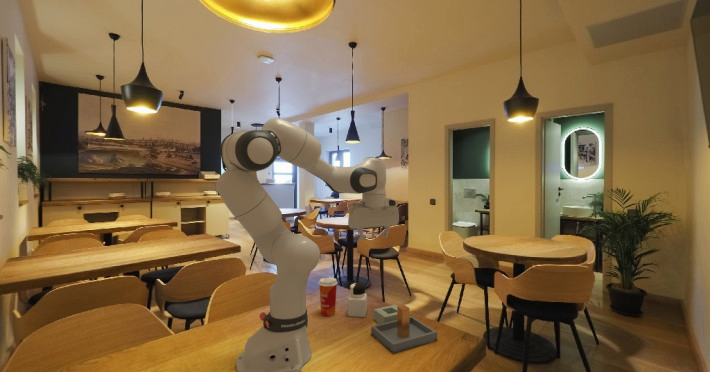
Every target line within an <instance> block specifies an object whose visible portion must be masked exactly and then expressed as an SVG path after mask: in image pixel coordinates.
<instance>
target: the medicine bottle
mask: <svg viewBox="0 0 710 372" xmlns="http://www.w3.org/2000/svg"><path fill="white" fill-rule="evenodd" d="M349 290H350V291H349V296H348V299H347V316H348V317H352V318H353V317H354V318H355V317H359V318H366V316H367V309H368V307H367V306H368V301H367V300H368V299H367V298H368V294H367V293H366V285H365V284H363V283H361V282H355V283H352V284H350V289H349Z"/></svg>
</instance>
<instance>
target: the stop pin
mask: <svg viewBox="0 0 710 372" xmlns="http://www.w3.org/2000/svg"><path fill="white" fill-rule="evenodd" d="M396 306H397V335H399V336H400V337H401V338H405V337H408V336H409V317H410V312H411V311H410V307H409V306H407V305H405V304H402V305H396Z"/></svg>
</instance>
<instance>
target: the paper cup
mask: <svg viewBox="0 0 710 372" xmlns="http://www.w3.org/2000/svg"><path fill="white" fill-rule="evenodd" d="M318 287H319V300H320V312H321V313H320V314H321V316H323V317H329V318H330V317H333V316H334V315H335V314H336V303H337V300H336V299H337V287H338V281H337V278H334V277H330V276H329V277H324V278H323V277H322V278H320V279H319V281H318Z"/></svg>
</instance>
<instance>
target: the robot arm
mask: <svg viewBox="0 0 710 372" xmlns="http://www.w3.org/2000/svg"><path fill="white" fill-rule="evenodd" d="M219 149H220V150H219V153H220V158H221V164H222V168H223V170H224V172H223V173H222V174H220V176H219V178H218V179H217V181H216V182H215V183H216V184H215V187H216V190H217V193H218V194H219V196H220V199H222V201H223V202H224V204H225V206H226V208H227V209H228V211H229V212H230V213H231V214H232V215H233V216H234V218H235V219H236V220H237V222H238V223H239V224H240V225H241V226H242V227H243V228H244V230H245V231H246V232H247V233H248V234H249V236H250V237H251V239H252V240H253V243H255V246H256V247H257V249H258V252H259V254H260V255H261V256H262V257H263V259H264V260H265V261H267V262H268V263H270V264H272V265H275V266H276V268H277V270H276V271H277V274H276V277H275V280H274V282H273V283H272V285H271V286H270V288H269V312H268V313H266V312H261V313H260V314H259V318H260V320H261V321H263V322H262V323H263V324H262V326H261V327H260V328H259V329H258V330H257V331H255V333H253V334H252V335H251V336H250V337H249V338H248V339H247V340H246V343H245V344H244V351H243V352H241V353H240V354H238V356H237V358H236V361H235V362H236V364H235V368H236V371H237V372H300V371H301V370H302V368H303V366H304V365H305V364H306V363H308V361H309V360H310V359H311V358H312V353H313V352H312V350H311V346H310V341H309V337H308V336H309V335H308V329H307V328H308V324H309V323H308V322H309V313H308V309H307V285H308V281H309V277H310V274H311V272H312V271H314V270H315V269H316V268H317V266H318V264H319V262H320V259H321V250H320V248H319V246H318V244H317V243H316V242H314V240H312V239H310V237H308V236H305V235H301V234H298V233H294V232H292V231H291V230H290V229H288V228H287V225H286V224H285V223H284V220H283V214H282V211H281V209H280V208H279V206H278V205H277V203H276V202H275V201H274V200H273V199H272V197H271V196H270V195H269V193H268V192H267V190H265V188H264V187H263V186H262V185H261V183H260V181H259V179H258V173H257V172H259V171H260V172H261V171H263V170H266V169H268V168H269V167H270V166H271V165H272V164H273V163H274V162H275V160H276V158H280V159H282V160H284V161H285V162H287V163H289V164H291V165H293V166H296V167H298V168H300V169H303V170H305V171H306V172H308V173H310V174H312V175H314V177H317V178H318V179H320V180H321V181H323V182H324V183H325V185H326V186H327V187H328V188H329V189H330V190H331V192H332V193H333V192H334V194H335V193H336V194H355V195H360V194H362V195H361V198H362V200H361V201H360V202H353V203H351V204H350V205H349V206H348V221H347V225H348V227H349V228H350V229H354V230H357V233H358V235H359V240H360V241H366V239H367V238H366V237H367V236H366V235H365V234H364V232H363V231H364V229H365V228H367V229H369V228H378V227H383V228H384V230H383V232H381V238H383V239H386V238H388V236H389V235H388V234H389V232H390V230H391V226H398V224H399V222H400V214H399V208H398V207H397V206H398V203H399V201H398V200H396V199H393V198H390V197H387V191H386V184H387V183H386V182H387V169H386V164H385V162H384V160H383V159H380V158H379V157H371V156H370V157H366V158H364V159H363V160H362V161H360V163H359V164H356V165H354V166H334V165H332V164H330V163H329V162H327V161H326V160H324V158H323V159H322V158H321V155H322V144H321V142H320V140H318V139H317V137H316V136H315V135H313V134H311V133H310V132H308V131H307V130H305V129H303V128H302V127H300V126H298V125H296V124H294V123H293V122H290V121H287V120H285V119H282V118H280V117H273V118H269V119H268V120H267V121H266V122H265V123H264V124H263V126H262V128H261V129H260V130H259V129H253V130H240V131H236V132H232V133H230V134H228V135H226V136H225V138H223V140H222V141H221V143H220V148H219Z"/></svg>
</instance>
